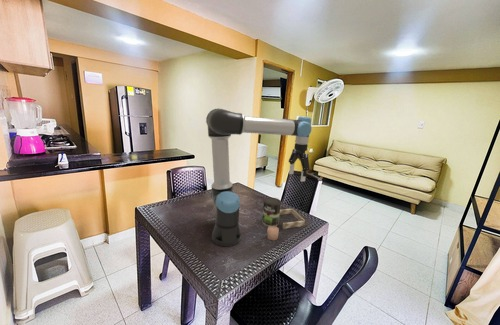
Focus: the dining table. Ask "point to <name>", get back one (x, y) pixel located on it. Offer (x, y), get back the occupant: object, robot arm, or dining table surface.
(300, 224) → the corral
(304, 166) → the robot arm
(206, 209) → the dining table surface
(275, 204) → the coffee can
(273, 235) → the tan rounded block
